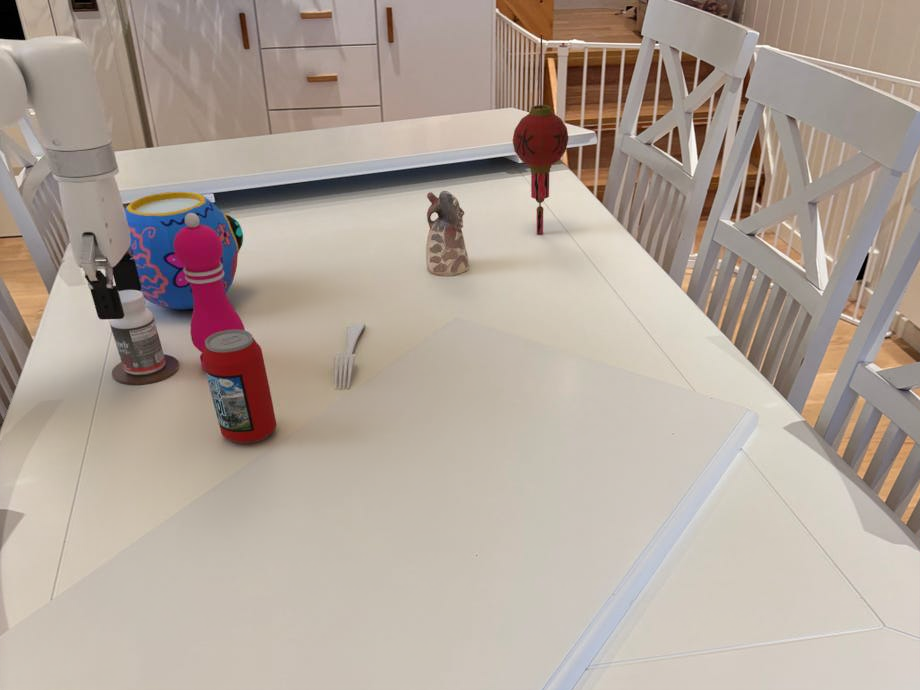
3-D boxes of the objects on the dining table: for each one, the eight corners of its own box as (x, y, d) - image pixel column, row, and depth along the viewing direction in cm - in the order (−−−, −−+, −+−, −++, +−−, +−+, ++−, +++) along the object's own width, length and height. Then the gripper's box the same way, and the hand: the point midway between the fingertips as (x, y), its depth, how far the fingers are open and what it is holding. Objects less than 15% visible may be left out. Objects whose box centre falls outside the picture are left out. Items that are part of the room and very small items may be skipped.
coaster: (105, 386, 123) (104, 384, 122) (121, 358, 129) (120, 355, 129) (172, 382, 123) (171, 380, 123) (184, 354, 130) (183, 351, 129)
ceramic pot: (270, 294, 146) (252, 194, 136) (186, 334, 135) (159, 228, 125) (195, 275, 153) (172, 179, 144) (110, 311, 143) (79, 210, 133)
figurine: (469, 275, 149) (465, 196, 141) (425, 277, 149) (420, 198, 141) (469, 260, 154) (466, 183, 146) (427, 261, 155) (422, 185, 147)
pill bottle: (117, 367, 126) (95, 295, 120) (155, 355, 129) (135, 284, 122) (134, 380, 123) (112, 307, 116) (173, 367, 126) (154, 295, 119)
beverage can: (211, 434, 112) (187, 340, 104) (257, 415, 115) (237, 322, 107) (242, 453, 108) (219, 357, 100) (288, 432, 111) (270, 337, 103)
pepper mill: (189, 375, 125) (149, 221, 111) (213, 352, 130) (178, 203, 117) (238, 379, 123) (203, 223, 110) (260, 356, 128) (229, 205, 115)
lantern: (577, 231, 163) (583, 33, 143) (542, 246, 158) (544, 42, 138) (537, 221, 168) (538, 28, 148) (502, 235, 163) (499, 36, 143)
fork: (368, 340, 137) (366, 321, 135) (352, 389, 120) (350, 368, 118) (349, 341, 137) (347, 322, 135) (331, 389, 120) (328, 369, 118)
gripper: (71, 144, 115) (108, 281, 126) (28, 181, 102) (73, 331, 113) (131, 142, 115) (163, 280, 126) (96, 179, 102) (135, 329, 113)
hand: (121, 304), depth 120 cm, fingers open, 9 cm apart
